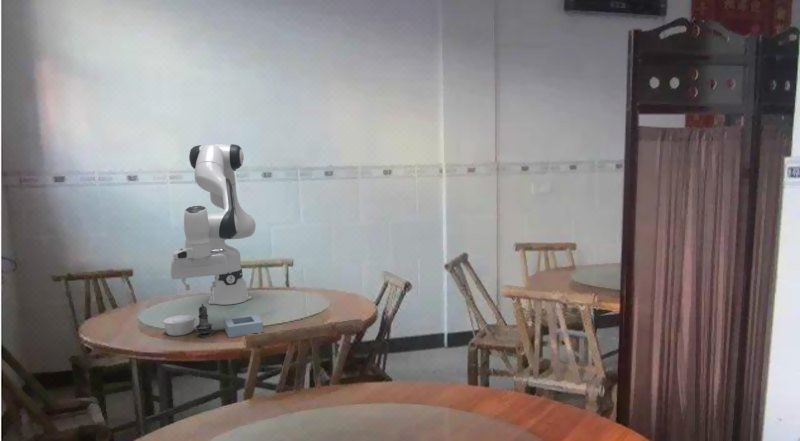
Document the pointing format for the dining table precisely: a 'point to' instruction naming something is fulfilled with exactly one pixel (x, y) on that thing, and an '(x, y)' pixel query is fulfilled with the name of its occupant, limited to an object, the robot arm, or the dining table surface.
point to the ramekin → (179, 325)
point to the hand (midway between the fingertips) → (201, 288)
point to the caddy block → (243, 325)
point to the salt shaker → (203, 323)
